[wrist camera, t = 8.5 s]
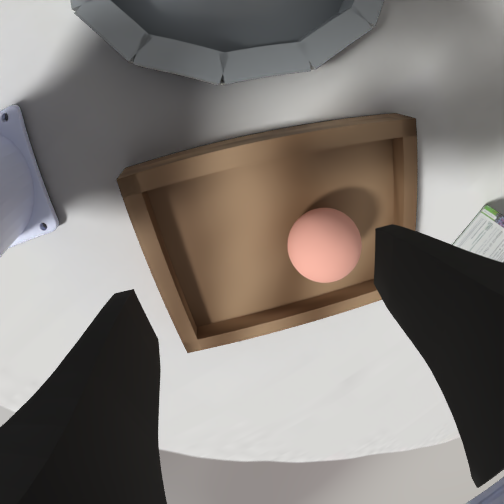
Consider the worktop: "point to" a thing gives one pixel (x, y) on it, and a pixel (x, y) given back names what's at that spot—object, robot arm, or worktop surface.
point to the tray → (267, 221)
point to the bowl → (229, 34)
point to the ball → (324, 245)
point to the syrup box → (484, 235)
